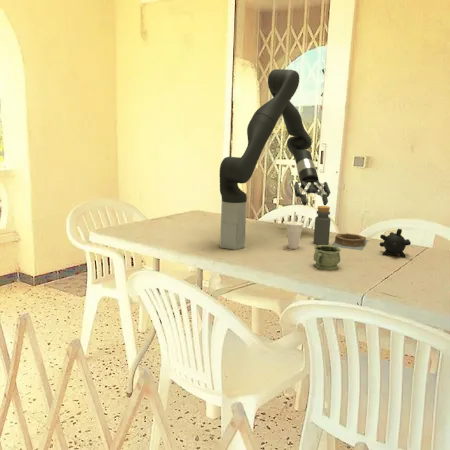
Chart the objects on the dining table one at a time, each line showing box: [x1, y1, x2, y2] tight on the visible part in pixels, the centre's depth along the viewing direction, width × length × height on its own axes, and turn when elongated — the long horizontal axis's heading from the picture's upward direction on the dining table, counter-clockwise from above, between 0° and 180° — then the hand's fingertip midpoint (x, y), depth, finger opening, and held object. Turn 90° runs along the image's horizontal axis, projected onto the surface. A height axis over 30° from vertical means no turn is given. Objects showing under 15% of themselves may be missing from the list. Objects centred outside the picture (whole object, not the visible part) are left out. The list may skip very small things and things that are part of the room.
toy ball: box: [379, 228, 412, 259], centre depth 171 cm, size 11×11×12 cm
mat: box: [330, 239, 369, 251], centre depth 187 cm, size 18×12×1 cm, turn 156°
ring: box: [334, 233, 367, 247], centre depth 186 cm, size 11×11×2 cm
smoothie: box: [285, 211, 304, 251], centre depth 176 cm, size 6×6×14 cm
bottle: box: [312, 205, 331, 246], centre depth 183 cm, size 6×6×15 cm
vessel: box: [313, 244, 342, 271], centre depth 155 cm, size 12×9×6 cm
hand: (315, 204), depth 189 cm, fingers open, 8 cm apart
